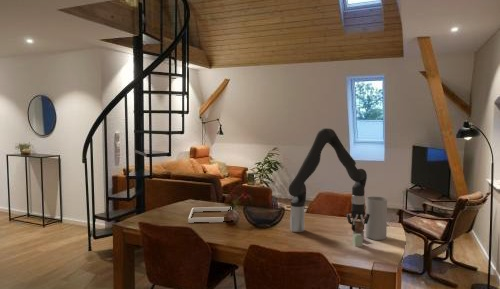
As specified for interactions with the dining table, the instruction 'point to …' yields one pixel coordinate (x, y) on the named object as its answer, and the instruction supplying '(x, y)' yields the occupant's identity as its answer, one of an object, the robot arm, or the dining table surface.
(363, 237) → the grey block
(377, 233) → the cylinder vase
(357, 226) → the walnut block
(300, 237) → the dining table surface
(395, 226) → the dining table surface
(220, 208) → the white square frame
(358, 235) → the sage block
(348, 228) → the dining table surface
